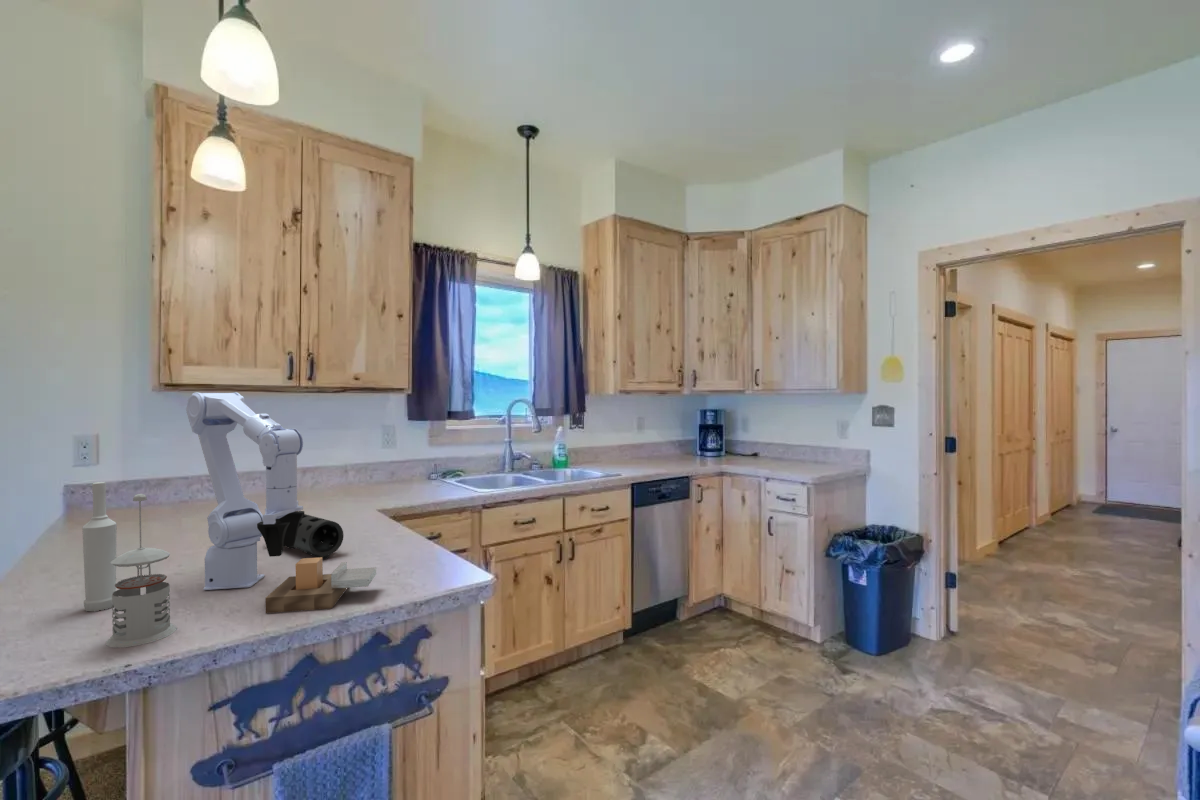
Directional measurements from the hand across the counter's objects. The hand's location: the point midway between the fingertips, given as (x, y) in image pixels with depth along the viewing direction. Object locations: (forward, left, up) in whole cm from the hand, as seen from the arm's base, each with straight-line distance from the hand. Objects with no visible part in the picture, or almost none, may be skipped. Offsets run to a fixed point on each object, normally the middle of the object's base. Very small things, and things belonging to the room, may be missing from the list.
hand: (282, 550), depth 119 cm
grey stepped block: (+15, -4, -6) cm, 17 cm away
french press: (-17, -16, -10) cm, 26 cm away
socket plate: (+7, -4, -9) cm, 12 cm away
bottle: (-33, 0, -10) cm, 35 cm away
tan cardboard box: (+7, -4, -9) cm, 12 cm away
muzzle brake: (-7, +36, -10) cm, 38 cm away
